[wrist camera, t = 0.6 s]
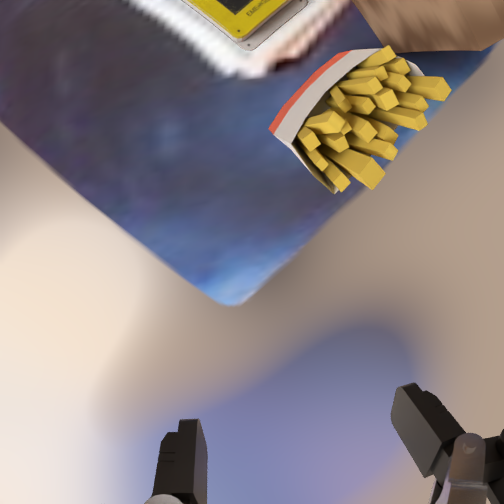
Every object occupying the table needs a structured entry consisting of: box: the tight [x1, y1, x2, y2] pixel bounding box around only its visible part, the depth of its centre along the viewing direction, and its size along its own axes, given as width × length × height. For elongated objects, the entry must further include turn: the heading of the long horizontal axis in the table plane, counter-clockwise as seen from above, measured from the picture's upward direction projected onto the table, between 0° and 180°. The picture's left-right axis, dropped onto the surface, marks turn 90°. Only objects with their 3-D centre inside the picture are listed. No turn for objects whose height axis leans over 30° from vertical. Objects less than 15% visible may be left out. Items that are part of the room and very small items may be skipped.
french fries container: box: [268, 45, 452, 194], centre depth 23 cm, size 5×11×18 cm, turn 140°
